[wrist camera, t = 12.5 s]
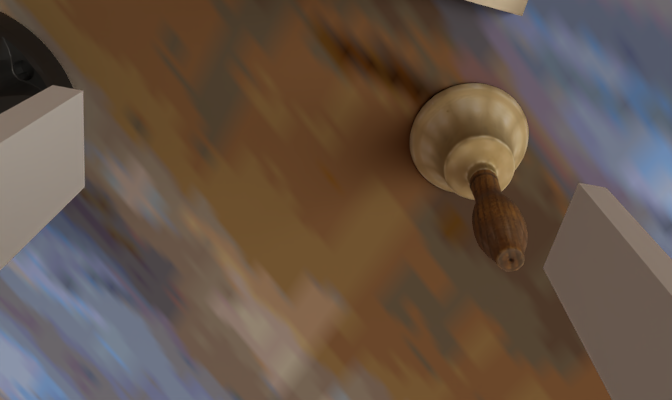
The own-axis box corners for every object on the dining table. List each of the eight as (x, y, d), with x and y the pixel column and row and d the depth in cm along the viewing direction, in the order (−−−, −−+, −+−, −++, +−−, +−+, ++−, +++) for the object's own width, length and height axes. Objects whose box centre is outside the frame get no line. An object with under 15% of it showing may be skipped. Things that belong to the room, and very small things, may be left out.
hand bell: (475, 212, 43) (523, 356, 29) (386, 153, 41) (390, 274, 27) (553, 126, 40) (651, 241, 25) (459, 58, 38) (507, 139, 24)
